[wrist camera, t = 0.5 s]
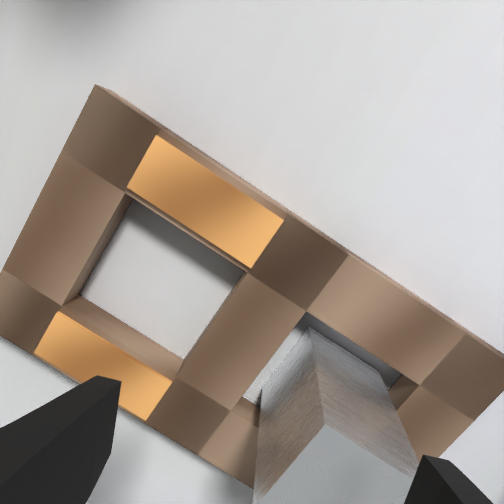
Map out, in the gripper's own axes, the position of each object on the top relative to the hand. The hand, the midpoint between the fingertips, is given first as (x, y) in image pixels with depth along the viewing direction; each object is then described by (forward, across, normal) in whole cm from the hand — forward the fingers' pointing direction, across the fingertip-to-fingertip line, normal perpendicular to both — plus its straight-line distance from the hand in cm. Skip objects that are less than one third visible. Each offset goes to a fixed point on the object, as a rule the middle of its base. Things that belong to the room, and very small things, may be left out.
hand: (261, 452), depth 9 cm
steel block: (+10, -3, +3) cm, 10 cm away
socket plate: (+9, +1, +2) cm, 10 cm away
